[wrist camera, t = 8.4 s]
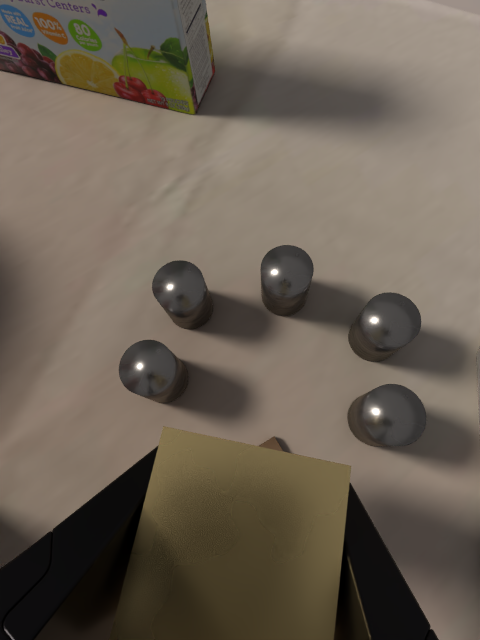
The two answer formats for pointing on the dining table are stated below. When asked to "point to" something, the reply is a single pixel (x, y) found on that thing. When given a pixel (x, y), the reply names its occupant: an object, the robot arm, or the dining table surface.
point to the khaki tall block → (235, 545)
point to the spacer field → (286, 299)
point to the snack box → (113, 47)
